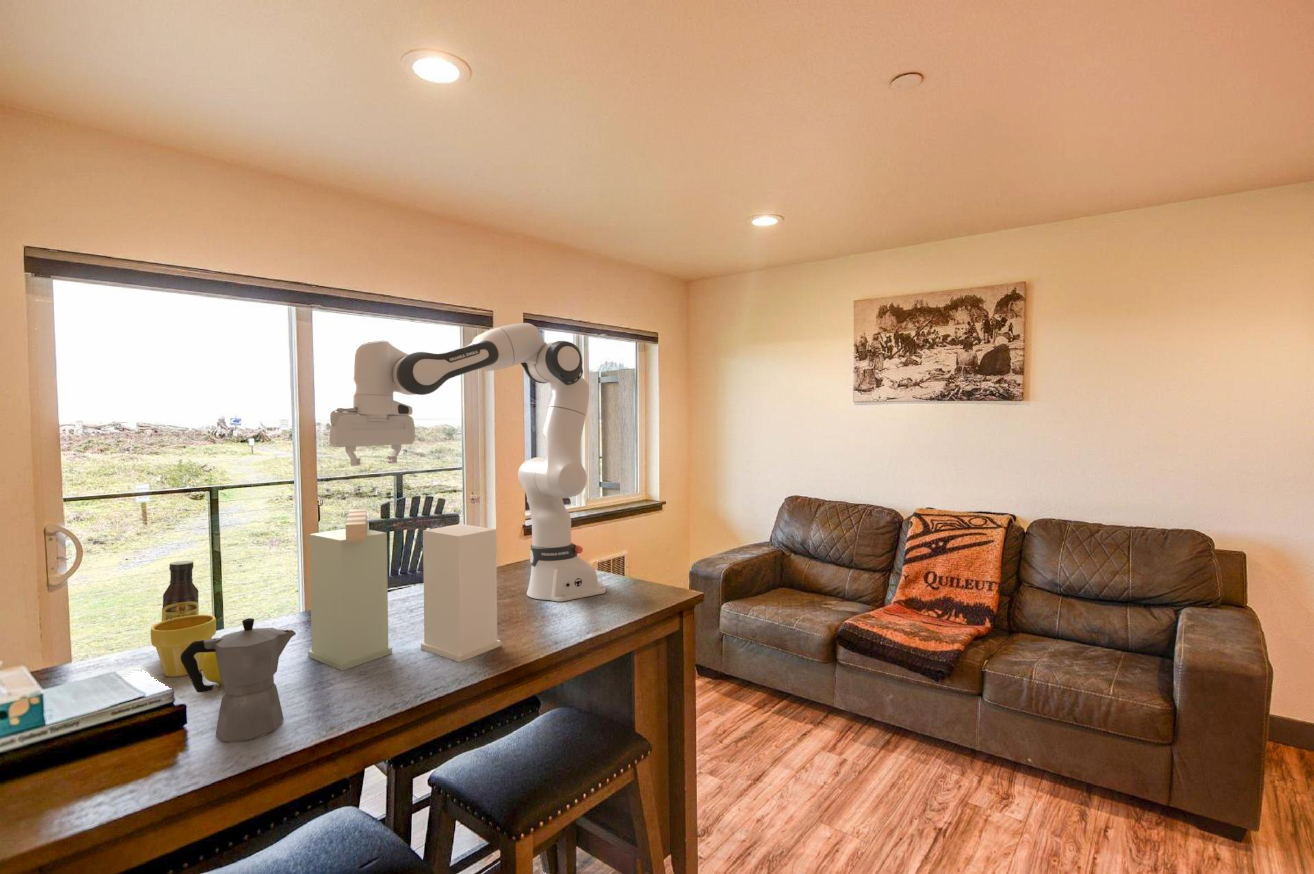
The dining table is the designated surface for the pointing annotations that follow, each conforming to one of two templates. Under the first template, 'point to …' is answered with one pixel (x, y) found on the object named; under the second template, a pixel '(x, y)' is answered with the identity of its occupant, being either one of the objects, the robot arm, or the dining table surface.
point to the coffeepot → (243, 679)
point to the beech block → (356, 525)
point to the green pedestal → (348, 598)
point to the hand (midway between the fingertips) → (374, 464)
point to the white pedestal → (460, 591)
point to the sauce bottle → (180, 592)
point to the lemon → (211, 668)
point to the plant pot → (181, 640)
